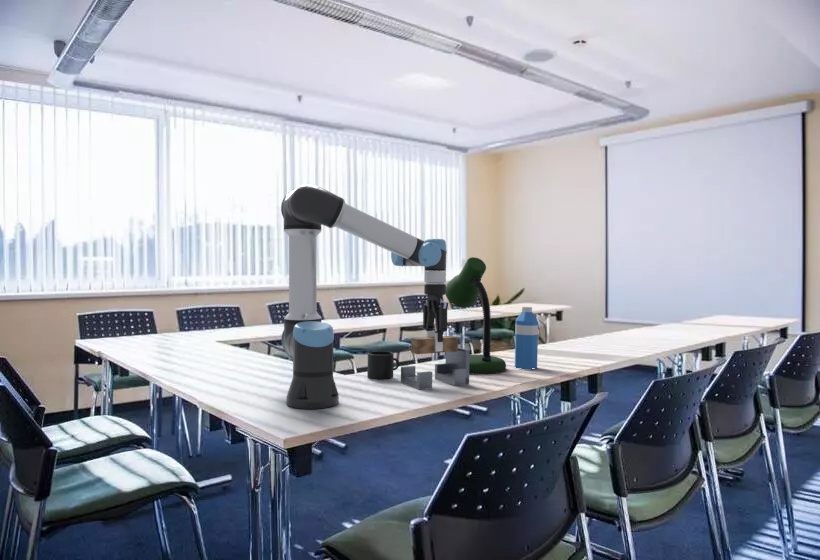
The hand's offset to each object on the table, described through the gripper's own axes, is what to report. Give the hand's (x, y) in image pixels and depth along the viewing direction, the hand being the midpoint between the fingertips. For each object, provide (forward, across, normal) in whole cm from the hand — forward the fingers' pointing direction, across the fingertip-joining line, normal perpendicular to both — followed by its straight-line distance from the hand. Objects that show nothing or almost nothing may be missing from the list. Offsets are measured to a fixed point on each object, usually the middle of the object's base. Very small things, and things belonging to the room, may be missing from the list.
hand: (434, 350), depth 194 cm
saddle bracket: (+12, 0, +7) cm, 14 cm away
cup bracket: (+12, 0, -7) cm, 14 cm away
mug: (+12, +17, +11) cm, 24 cm away
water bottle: (+12, +11, -51) cm, 53 cm away
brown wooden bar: (+1, 0, 0) cm, 1 cm away
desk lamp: (+12, +21, -31) cm, 39 cm away
